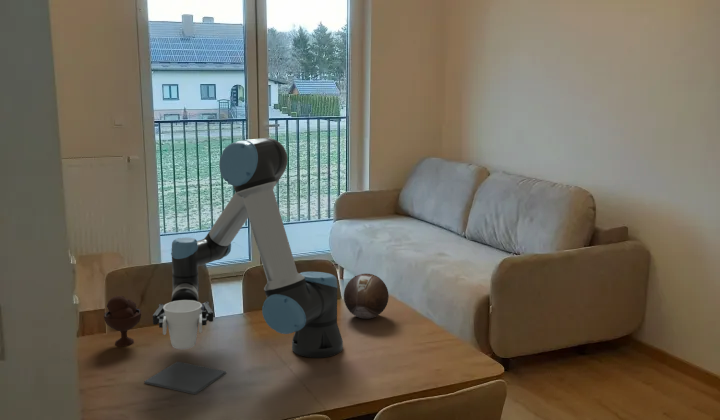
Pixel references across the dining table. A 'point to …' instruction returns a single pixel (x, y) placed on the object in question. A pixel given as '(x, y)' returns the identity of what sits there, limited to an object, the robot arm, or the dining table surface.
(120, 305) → the ice cream bowl
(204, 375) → the mat
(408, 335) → the dining table surface
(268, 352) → the dining table surface
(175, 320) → the cup
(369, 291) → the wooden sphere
